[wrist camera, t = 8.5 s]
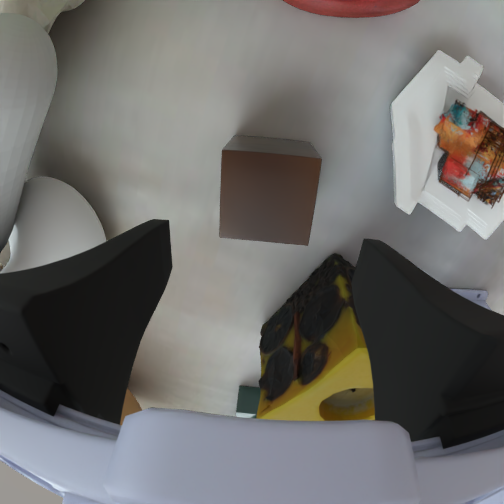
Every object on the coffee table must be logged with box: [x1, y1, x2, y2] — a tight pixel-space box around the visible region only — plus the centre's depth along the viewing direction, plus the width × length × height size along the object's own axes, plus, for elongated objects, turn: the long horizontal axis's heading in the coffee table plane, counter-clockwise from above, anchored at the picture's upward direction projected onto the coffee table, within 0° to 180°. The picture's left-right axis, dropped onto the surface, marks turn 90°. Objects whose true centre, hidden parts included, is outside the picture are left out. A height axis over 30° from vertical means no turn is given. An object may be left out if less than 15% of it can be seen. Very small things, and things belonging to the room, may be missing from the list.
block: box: [219, 135, 322, 246], centre depth 18 cm, size 5×5×5 cm
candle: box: [256, 254, 375, 421], centre depth 22 cm, size 10×10×10 cm
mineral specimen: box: [390, 50, 504, 240], centre depth 14 cm, size 12×12×7 cm
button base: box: [236, 386, 261, 419], centre depth 32 cm, size 12×10×6 cm
